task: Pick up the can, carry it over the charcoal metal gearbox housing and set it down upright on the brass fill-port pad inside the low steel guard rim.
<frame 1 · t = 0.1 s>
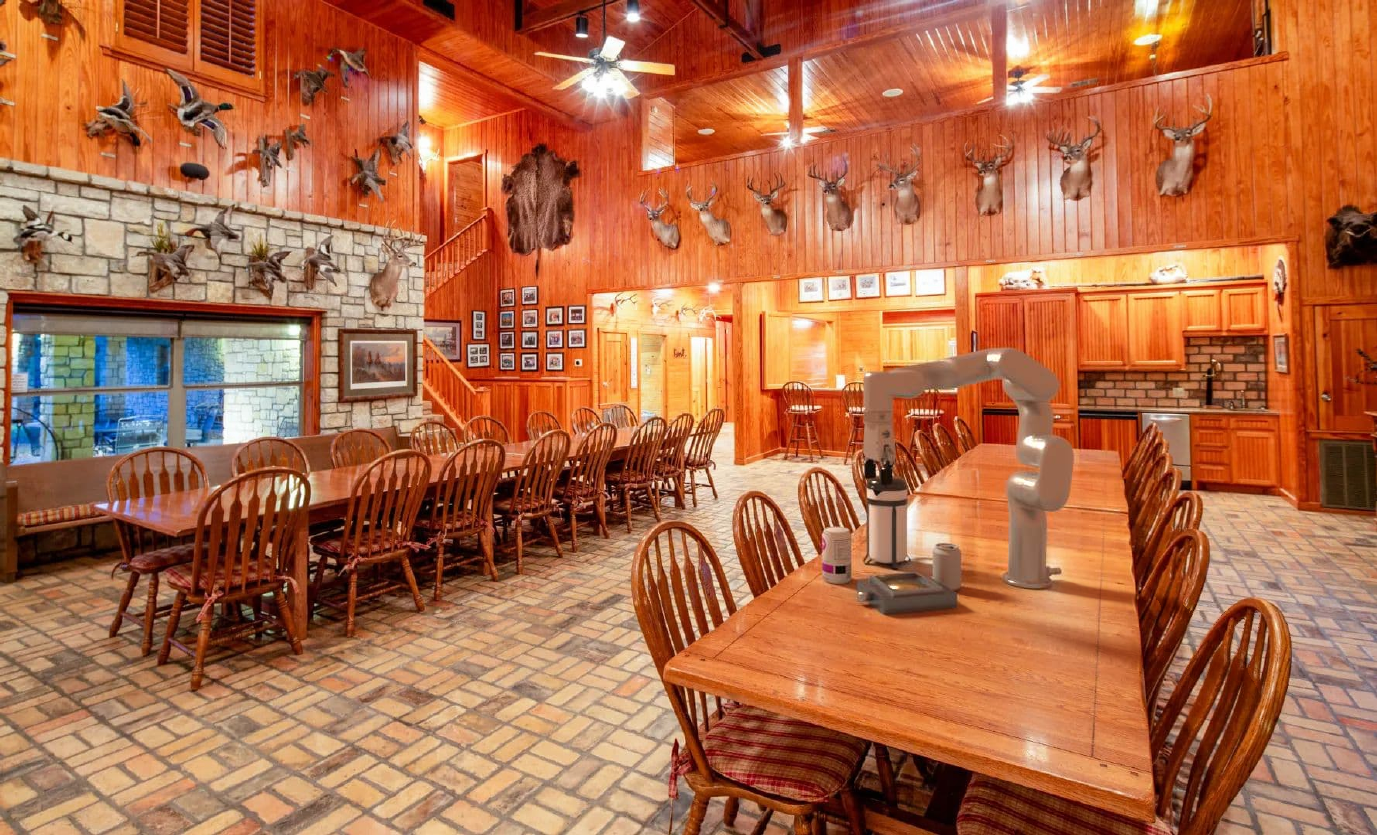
hand: (877, 481, 181), 31 cm above the table, fingers open, 9 cm apart
coffee press: (887, 562, 213), on the table
can: (946, 588, 188), on the table
gearbox: (905, 600, 178), on the table
supplement can: (836, 580, 196), on the table
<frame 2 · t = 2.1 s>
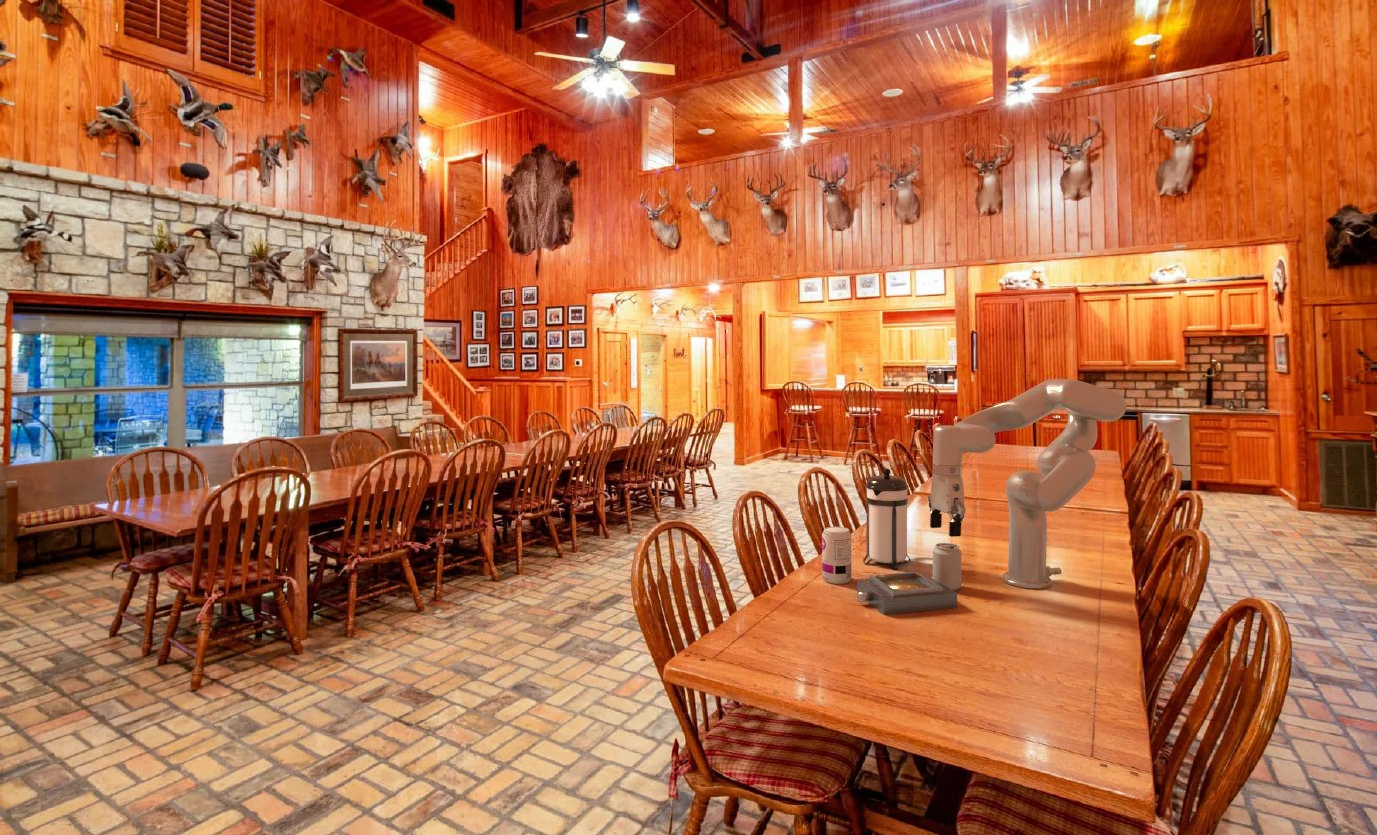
hand: (945, 531, 186), 16 cm above the table, fingers open, 9 cm apart
nothing on the table moved.
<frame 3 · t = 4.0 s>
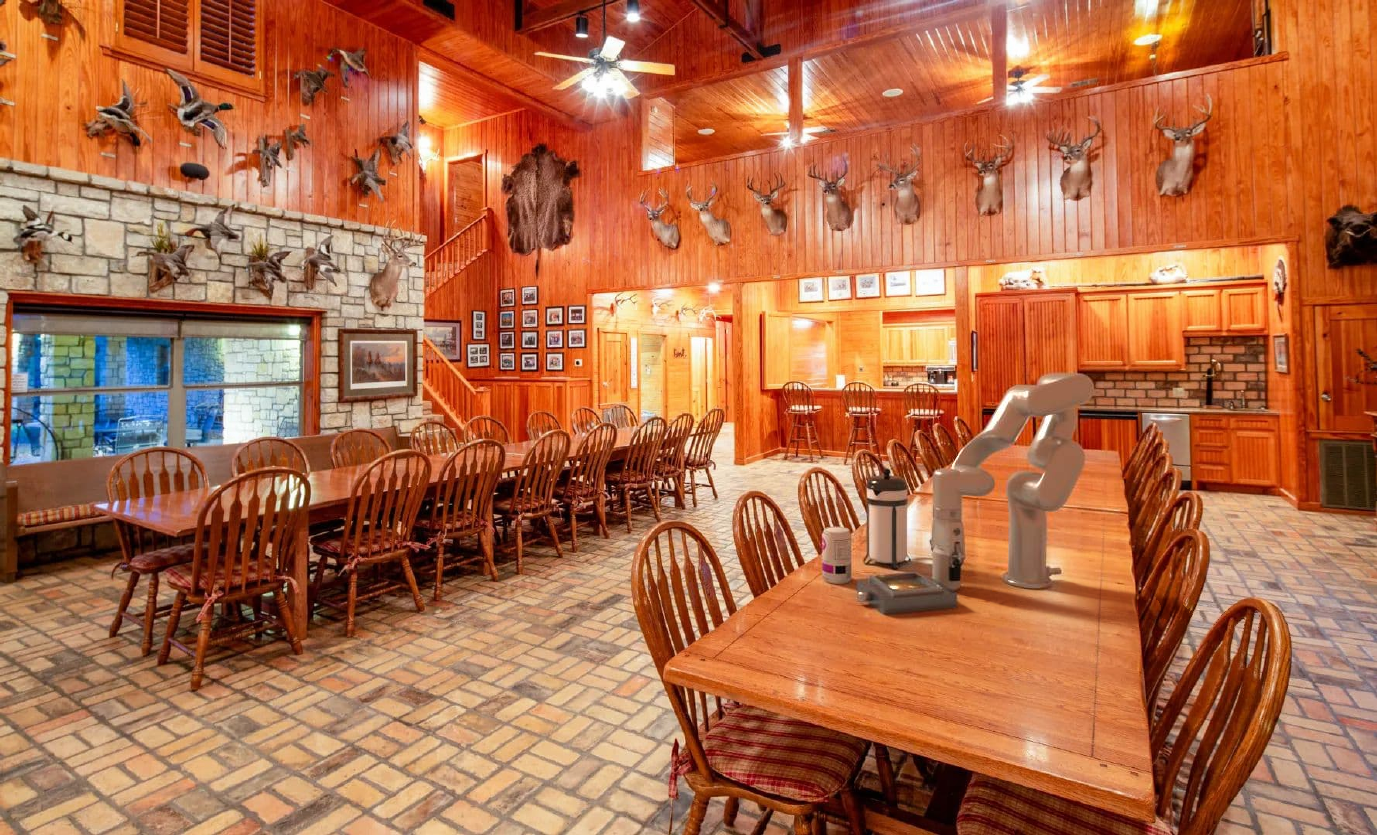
hand: (946, 575, 187), 3 cm above the table, fingers closed on can, 7 cm apart
can: (946, 588, 188), on the table, touching gripper
everything else where it was.
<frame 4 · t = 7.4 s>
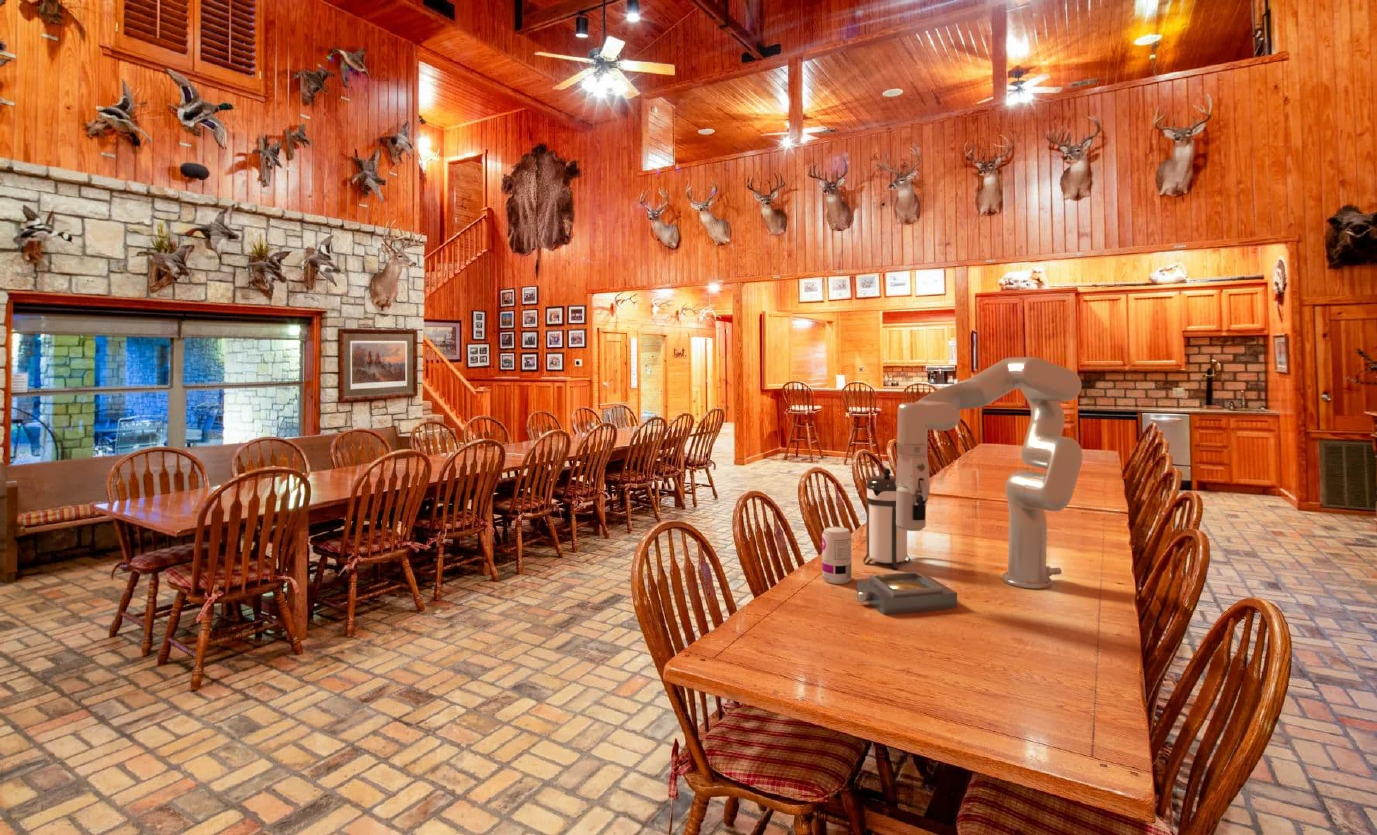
hand: (910, 516, 178), 22 cm above the table, fingers closed on can, 7 cm apart
can: (910, 529, 178), point 19 cm above the table, touching gripper
everything else where it was.
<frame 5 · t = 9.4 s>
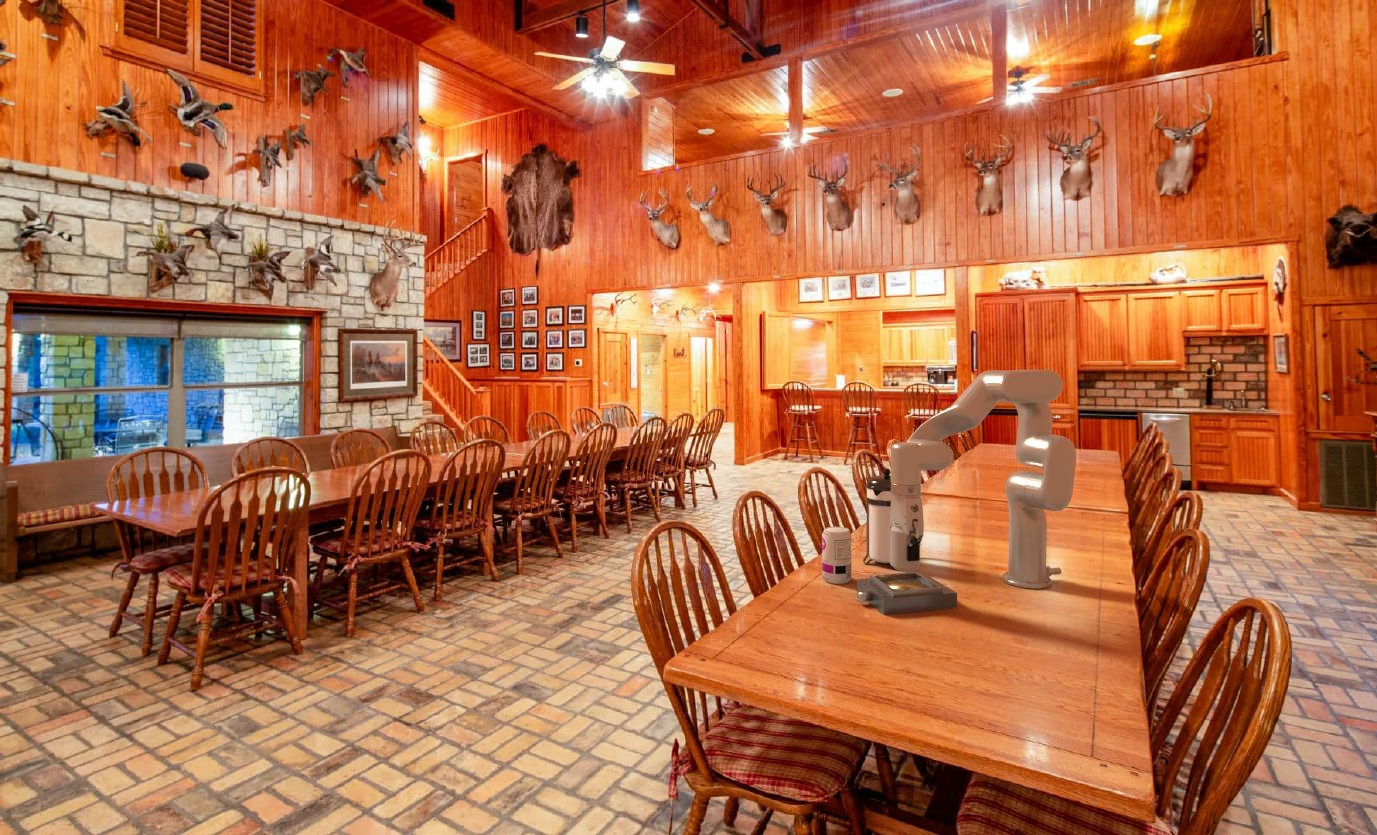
hand: (905, 555, 177), 12 cm above the table, fingers closed on can, 7 cm apart
can: (904, 568, 177), point 9 cm above the table, touching gripper
everything else where it was.
when the fingers open (9 cm above the table, at t = 11.1 s): can drops 1 cm, resting on gearbox.
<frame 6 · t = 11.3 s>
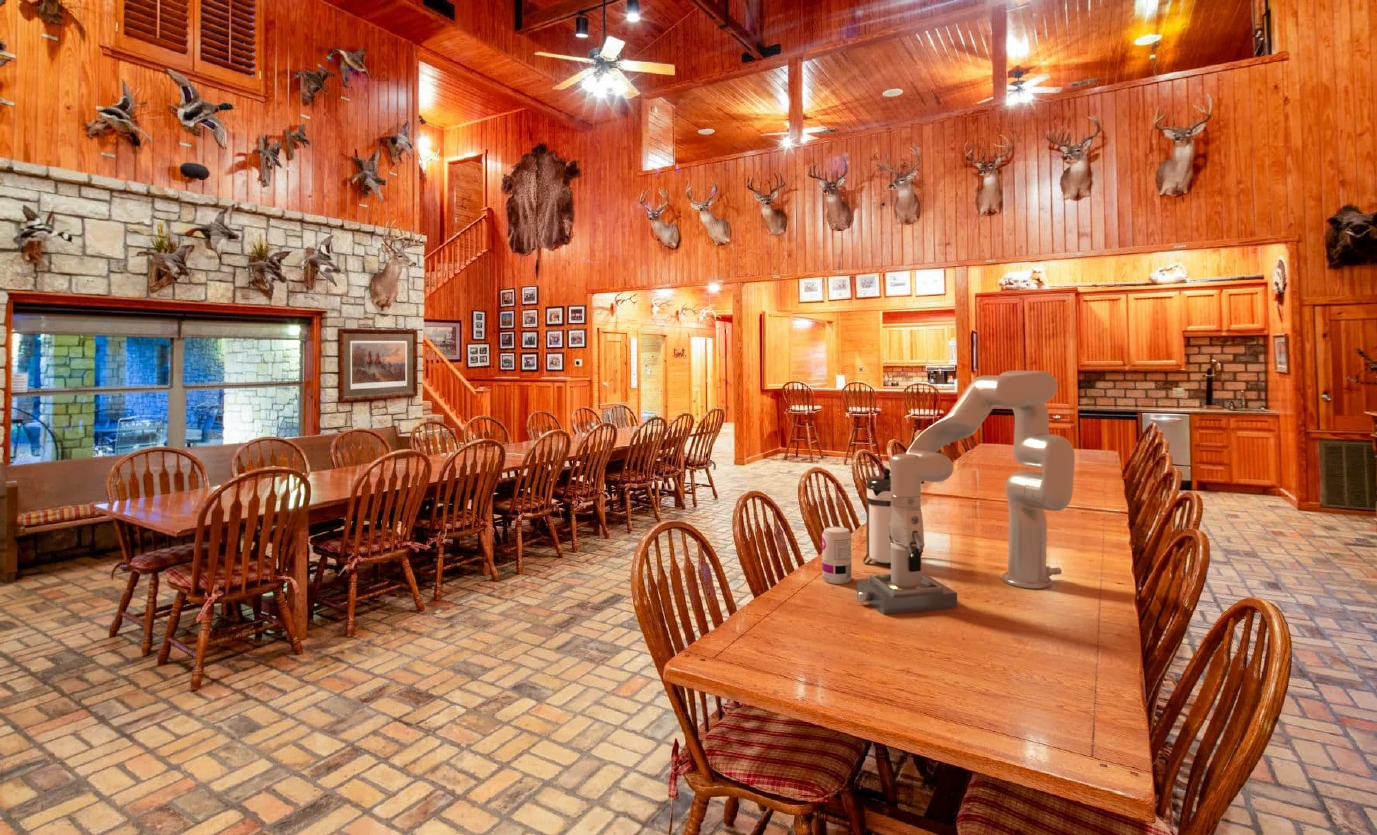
hand: (905, 565, 177), 9 cm above the table, fingers open, 9 cm apart
can: (905, 585, 178), point 4 cm above the table, touching gearbox
everything else where it was.
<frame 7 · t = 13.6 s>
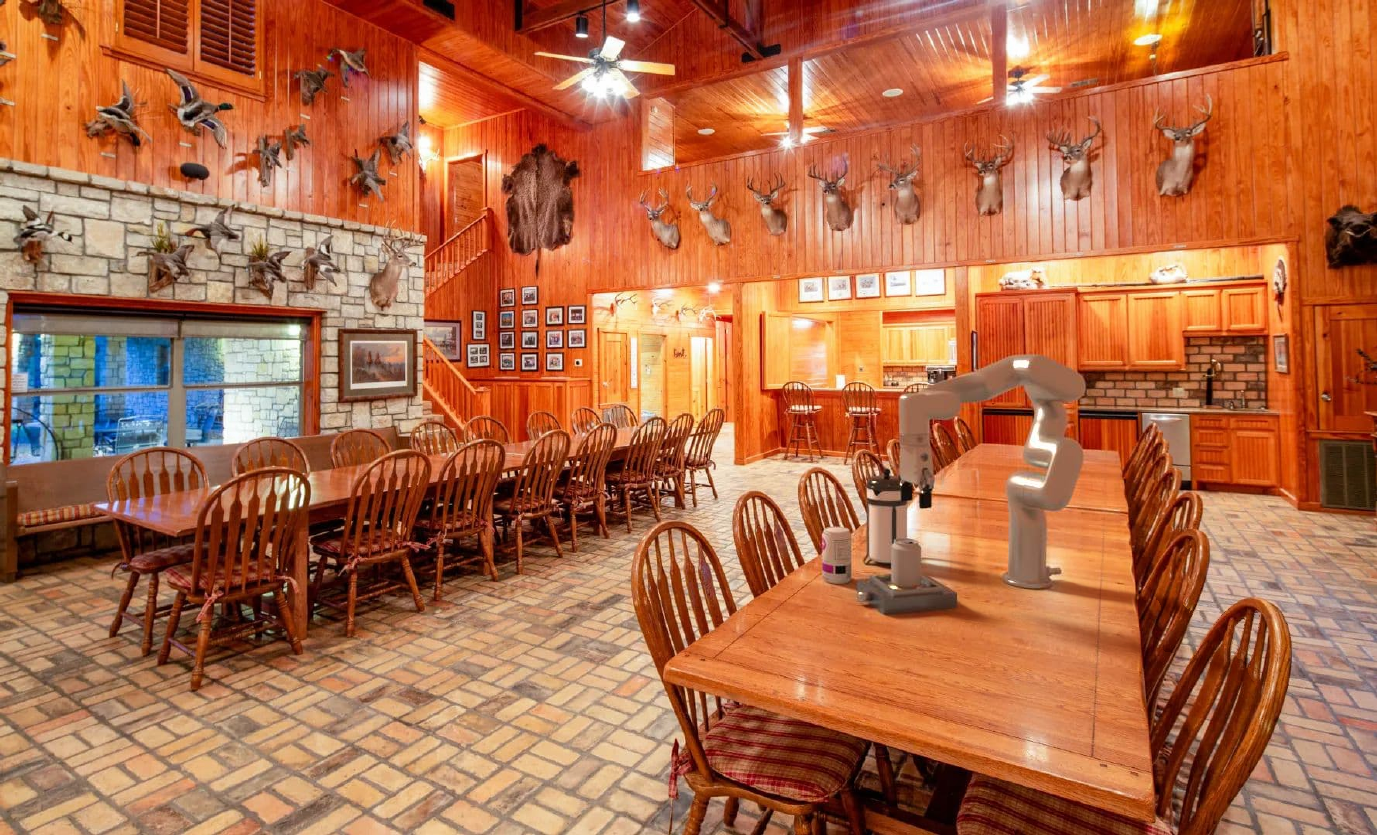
hand: (915, 504, 179), 25 cm above the table, fingers open, 9 cm apart
nothing on the table moved.
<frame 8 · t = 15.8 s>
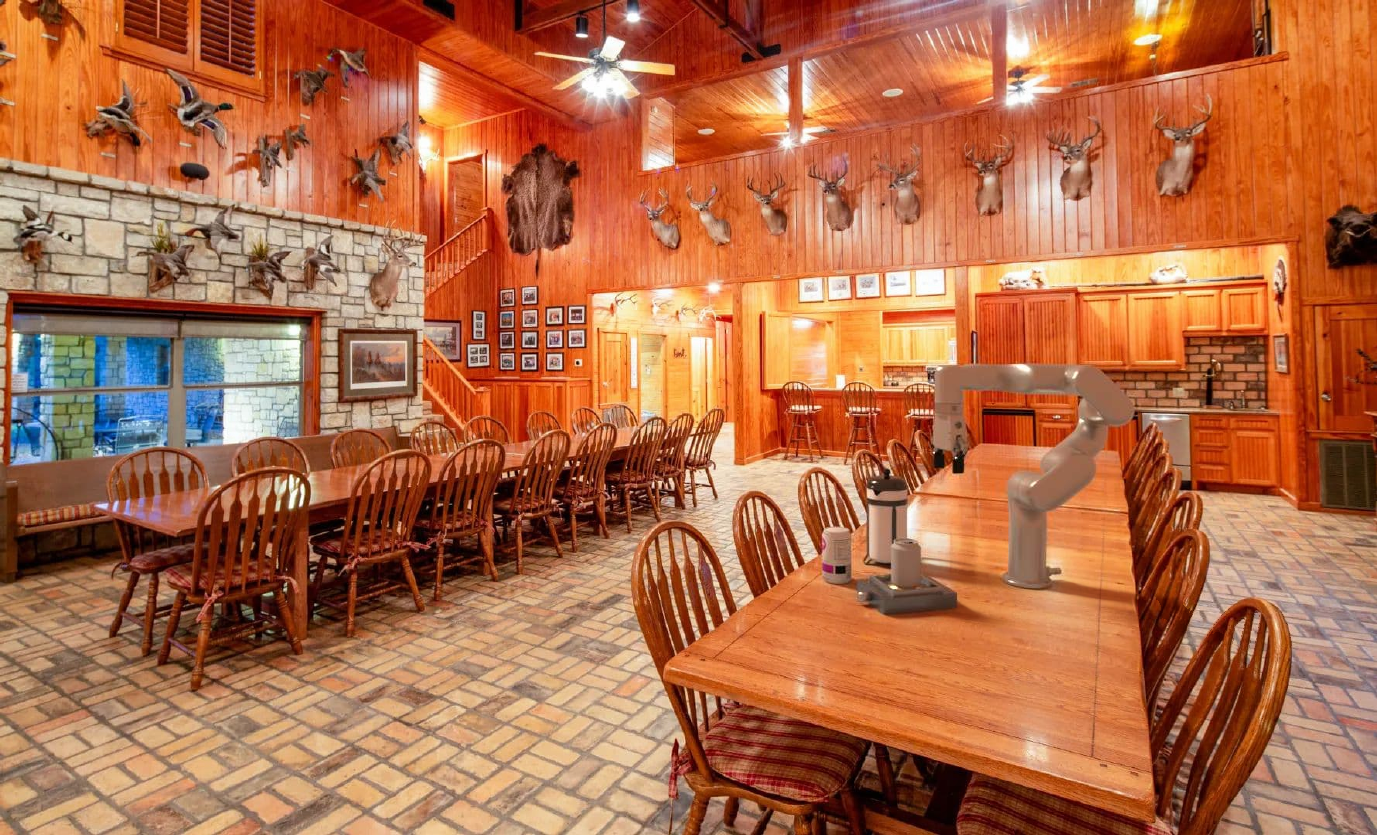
hand: (948, 470, 188), 32 cm above the table, fingers open, 9 cm apart
nothing on the table moved.
at the end: can 0.2 cm off-centre on the gearbox, point 4.0 cm above the gearbox's base; can tilted 0°; the gripper is holding nothing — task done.
